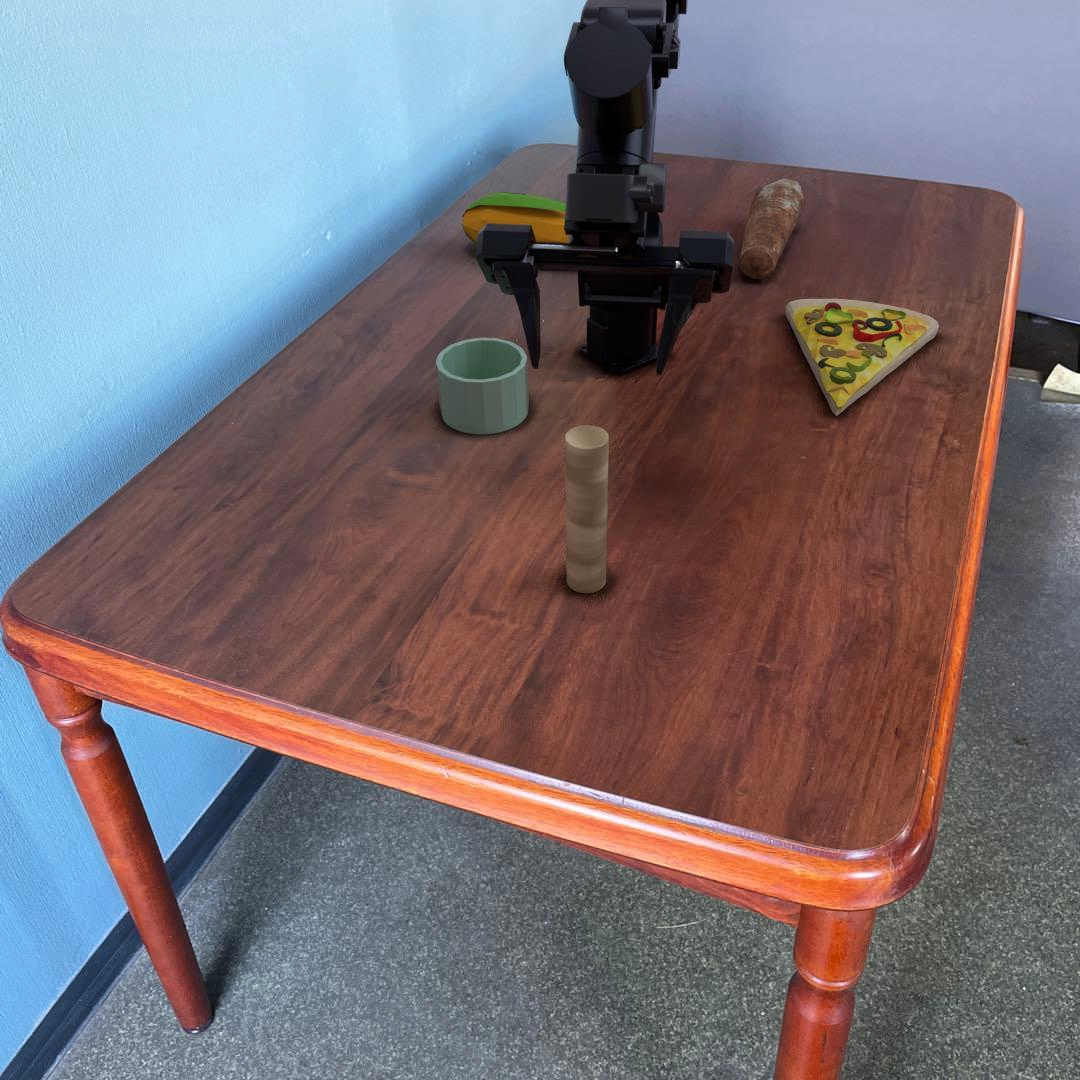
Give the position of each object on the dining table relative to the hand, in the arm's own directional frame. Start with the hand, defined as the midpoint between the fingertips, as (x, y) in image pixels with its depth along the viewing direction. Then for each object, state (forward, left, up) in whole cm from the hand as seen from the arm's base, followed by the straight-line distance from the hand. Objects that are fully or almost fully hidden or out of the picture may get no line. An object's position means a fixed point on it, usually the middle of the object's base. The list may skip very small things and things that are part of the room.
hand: (596, 370), depth 79 cm
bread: (-49, -27, -14) cm, 58 cm away
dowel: (+6, +6, -14) cm, 16 cm away
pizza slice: (-35, -3, -14) cm, 38 cm away
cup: (-2, -19, -14) cm, 24 cm away
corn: (-27, -43, -14) cm, 53 cm away
